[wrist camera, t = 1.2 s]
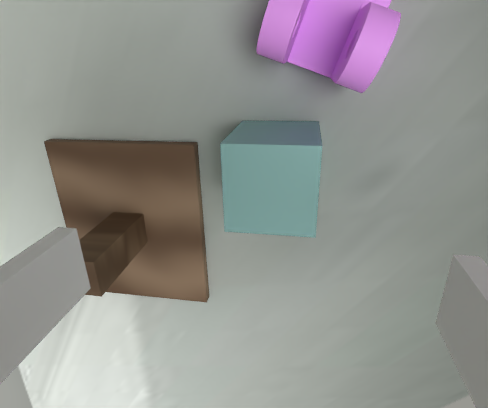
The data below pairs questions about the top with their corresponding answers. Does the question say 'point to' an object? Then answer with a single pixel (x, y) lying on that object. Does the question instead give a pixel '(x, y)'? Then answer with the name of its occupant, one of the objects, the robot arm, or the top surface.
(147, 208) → the brown square panel
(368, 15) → the bracket
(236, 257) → the top surface
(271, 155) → the teal rectangular block
